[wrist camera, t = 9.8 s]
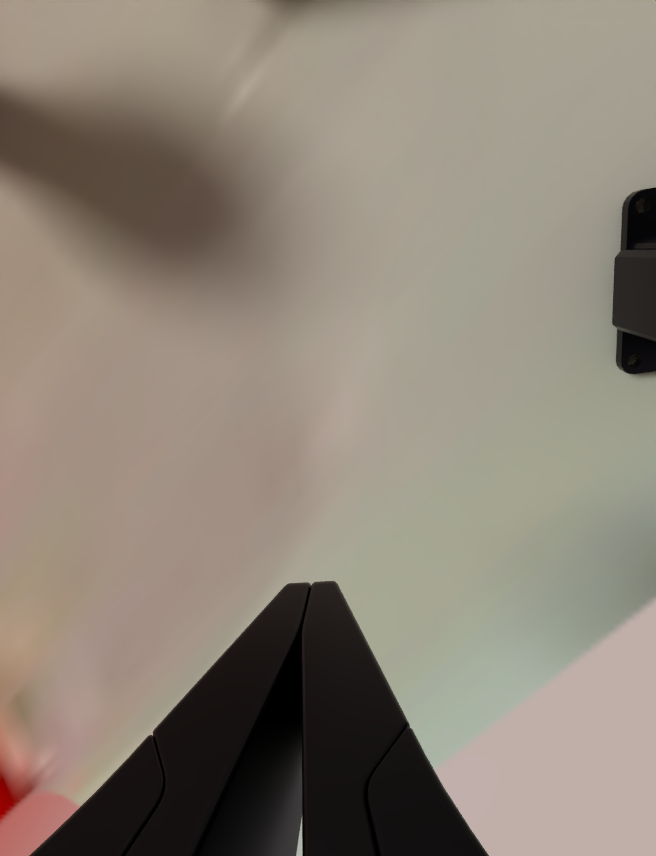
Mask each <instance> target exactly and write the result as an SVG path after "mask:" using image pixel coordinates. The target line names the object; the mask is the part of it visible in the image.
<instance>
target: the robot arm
mask: <svg viewBox="0 0 656 856" xmlns="http://www.w3.org/2000/svg"><path fill="white" fill-rule="evenodd" d="M640 198H641V199H643V200H644V202H645V207H644V209H643V211H642V212H641V213H639V212H638V211H636V207H635V206H636V203H637V201H638V200H639V199H640ZM612 324H613V325H614V326H615V327H616V328H617V349H616V363H617V366H618V368H619V369H620V370H622V371H624V372H627V373H629V374H637V373H645V372H653V371H656V188H650V189H644V190H639V191H636V192H633V193H631V194H630V195H629V196H628V197H627V198H626V200H625V201H624V204H623V208H622V230H621V251H620V252H619V253H618V255H617V256H616V257H615V266H614V292H613V318H612ZM633 355H636V361H635V362H634V363H633V364H632V365H628V360H629V358H630V357H631V356H633ZM153 736H154V737H153ZM153 736H152V735H149V736H148V737H147V738H146V739H145V740H144V741H143V742H142V743H141V744H140V746H139V747H138V748H137V749H136V750H135V751H134V752H133V753H132V754H131V755H130V757H129V758H128V759H127V760H126V761H125V762H124V763H123V764H122V765H121V766H120V767H119V768H118V769H117V770H116V771H115V772H114V773H113V774H112V775H111V777H110V778H109V779H108V780H107V781H106V782H105V783H104V784H103V785H102V786H101V787H100V788H99V789H98V790H97V791H96V792H95V793H94V794H93V795H92V796H91V797H90V798H89V799H88V800H87V801H86V802H85V803H84V804H83V805H82V806H81V807H80V808H79V809H78V810H77V811H76V812H75V813H74V814H73V815H72V816H71V817H70V818H69V819H68V820H66V821H65V822H64V823H63V824H62V825H61V826H60V827H59V828H58V829H57V830H56V831H55V832H54V833H53V834H52V835H51V836H50V837H49V838H48V839H47V840H46V841H45V842H44V843H42V844H41V845H40V846H39V847H38V848H37V849H36V850H35V851H34V852H33V853H32V854H31V855H30V856H296V852H297V845H298V838H299V831H300V825H301V818H302V838H303V856H489V855H488V854H487V852H486V851H485V849H484V848H483V847H482V845H481V844H480V842H479V841H478V839H477V838H476V836H475V835H474V833H473V832H472V831H471V829H470V828H469V826H468V824H467V823H466V822H465V820H464V818H463V817H462V815H461V814H460V812H459V810H458V809H457V808H456V806H455V804H454V803H453V801H452V800H451V798H450V796H449V795H448V793H447V792H446V790H445V789H444V787H443V785H442V784H441V782H440V780H439V778H438V776H437V775H436V773H435V771H434V769H433V767H432V766H431V764H430V762H429V760H428V758H427V757H426V755H425V753H424V751H423V749H422V747H421V745H420V743H419V742H418V740H417V738H416V736H415V734H414V732H413V730H412V729H411V728H410V725H409V723H408V721H407V719H406V717H405V715H404V713H403V711H402V709H401V707H400V705H399V703H398V701H397V699H396V697H395V695H394V693H393V691H392V690H391V688H390V686H389V684H388V682H387V680H386V678H385V676H384V674H383V672H382V670H381V668H380V666H379V664H378V662H377V660H376V658H375V656H374V654H373V652H372V651H371V649H370V647H369V645H368V643H367V641H366V639H365V637H364V635H363V633H362V631H361V629H360V627H359V625H358V623H357V621H356V619H355V617H354V615H353V613H352V611H351V610H350V608H349V606H348V604H347V602H346V600H345V598H344V596H343V594H342V592H341V590H340V588H339V586H338V584H337V583H336V582H335V581H324V582H314V583H313V584H312V586H311V584H310V583H307V582H306V583H290V584H287V585H286V586H285V587H284V588H283V589H282V590H281V591H280V592H279V593H278V594H277V595H276V596H275V598H274V599H273V600H272V601H271V602H270V603H269V604H268V605H267V606H266V607H265V609H264V610H263V611H262V612H261V613H260V614H259V615H258V616H257V617H256V618H255V620H254V621H253V622H252V623H251V624H250V625H249V626H248V627H247V628H246V629H245V631H244V632H243V633H242V634H241V635H240V636H239V637H238V638H237V639H236V640H235V642H234V643H233V644H232V645H231V646H230V647H229V648H228V649H227V650H226V651H225V652H224V654H223V655H222V656H221V657H220V658H219V659H218V660H217V661H216V662H215V663H214V665H213V666H212V667H211V668H210V669H209V670H208V671H207V672H206V673H205V674H204V676H203V677H202V678H201V679H200V680H199V681H198V682H197V683H196V684H195V685H194V687H193V688H192V689H191V690H190V691H189V692H188V693H187V694H186V695H185V696H184V698H183V699H182V700H181V701H180V702H179V703H178V704H177V705H176V706H175V707H174V709H173V710H172V711H171V712H170V713H169V714H168V715H167V716H166V717H165V718H164V720H163V721H162V722H161V723H160V724H159V725H158V726H157V727H156V728H155V729H154V731H153Z"/></svg>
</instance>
